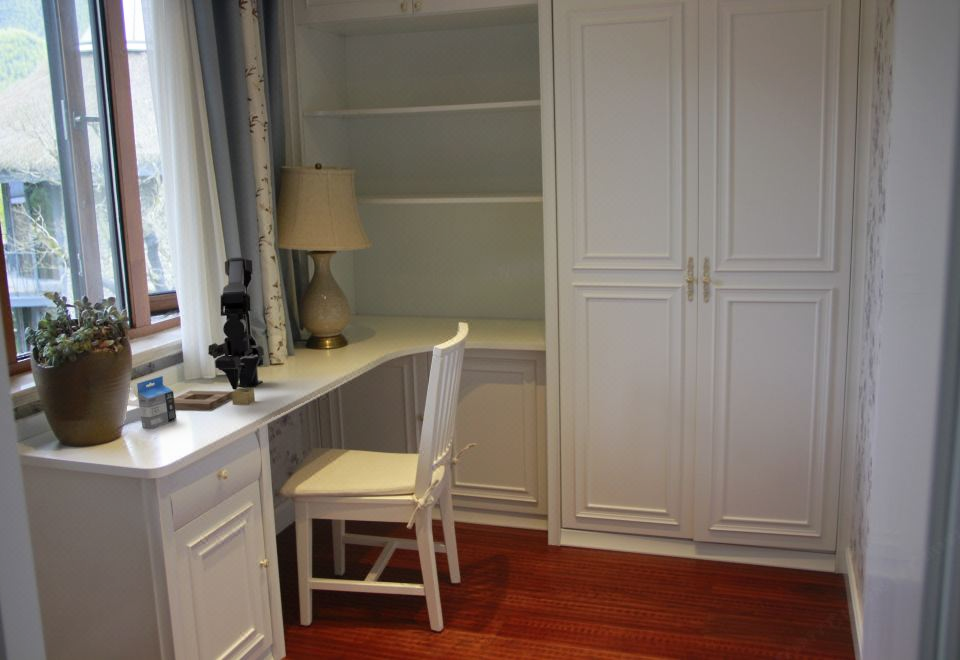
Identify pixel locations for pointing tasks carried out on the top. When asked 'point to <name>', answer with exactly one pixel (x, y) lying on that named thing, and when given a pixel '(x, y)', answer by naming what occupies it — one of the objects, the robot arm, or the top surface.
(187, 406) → the brown square frame
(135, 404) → the bracket
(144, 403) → the label tape box
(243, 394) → the tan wooden block
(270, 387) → the top surface
